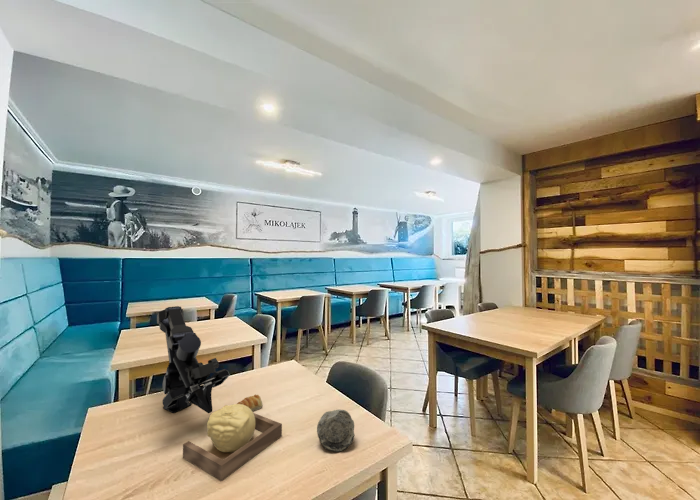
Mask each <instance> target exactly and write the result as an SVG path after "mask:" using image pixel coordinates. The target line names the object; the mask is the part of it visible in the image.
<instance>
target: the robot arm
mask: <svg viewBox="0 0 700 500" xmlns="http://www.w3.org/2000/svg"><path fill="white" fill-rule="evenodd" d="M184 318H185V317H184V308H182V306H178V305H177V306H175V305H174V306H167V307H165V308H164V309H163V310H161V311H158V312H157V314H156V323H157V324H158V325H159V330H160V331H161V332H163V333H165V340H166V348H167V354H168V356H167V357H168V362H169V363H168V366H167V367H166V370H165V375H164V377H163V380H162V391H163V393H164V395H165V396H164V397H163V399H162V405H163V407H162V408H163V409H164V410H166V411H168V412H170V413H173V414H174V413H176V412H179V411H181V410H184V409H185V408H188V407H190V406H192V405H194V406H197V407H198V408H199V409H201V410H202V411H203V412H206V413H207V414H212V413H213V402H212V400H213V399H212V390H213V388H216V387H218V386H221V385H222V384H223V383H224V382H225V381H226V380H227V379H228V378H229V376H230V375H231V373H230V372H229V370H228V369H226V368H223V369H220V370H218V371H216V369H218V368H219V367H220V364H219V360H218V359H217V357H214V358H210V359H209V360H207V363H205V364H203V362H199V361H198V359H197V355H198V353H199V350H200V348H201V344H202V341H201V338H200V337H199V336H198V335H197V333H196V332H194V329H193V328H192V327H191V326H188V325H187V324H186V322H185V319H184ZM211 374H212V375H211ZM209 377H210V378H209Z"/></svg>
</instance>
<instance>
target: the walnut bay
mask: <svg viewBox="0 0 700 500" xmlns="http://www.w3.org/2000/svg"><path fill="white" fill-rule="evenodd" d="M253 414H254V416H255V422H256V424H255V430H257V431H259V432H261V433H260V434H259V435H258V436H255V438H253V439H251V440H250V441H249V442H248V443H247V444H245V445H244V446H243V447H241V448H240V449H238V450H237V451H235V452H231V454H229V455H228V456H226V457H225V458H223V459H222V458H221V457H219V456H217V455H215V454H213V453H212V452H210V451H208V450H206V449H205V448H203V447H200V446H199V445H196V444H195V443H193V442H192V441H189V440H188V441H186V442H184V443H182V459H184V460H185V461H188V462H189V463H191V464H193V465H194V466H196V467H197V468H199V469H201V470H202V471H204V472H205V473H207V474H210V475H211V476H213V477H214V478H215V479H217V480H220V481H221V482H222V481H224V480H225V479H226V478H227V477H230V475H232V474H233V473H234V472H235V471H237V470H238V469H239V468H241V467H242V466H243V465H245V464H247V462H249V461H250V460H252V459H253V458H254V457H256V456H257V455H258V454H260V453H261V452H263V451H264V450H265V449H266V448H268V447H269V446H271V444H273V443H274V442H276V441H277V440H279V439H280V438H281V437H282V436H283V424H282V422H278V421H275V420H273V419H271V418H268V417H265V416H263V415H260V414H258V413H255V412H253Z"/></svg>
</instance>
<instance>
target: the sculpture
mask: <svg viewBox="0 0 700 500" xmlns="http://www.w3.org/2000/svg"><path fill="white" fill-rule="evenodd" d="M253 413H254V411H252V410H251V409H250V408H249V407H247V406H245V405H242V404H237V403H235V404H234V403H233V404H229V405H228V404H225V405H224V406H223V407H221V408H219V409H217V410H215V411H212V412H211V413H210V415H209V418H208V421H206V422H207V424H206V428H207V431H206V432H207V437H209V438H210V440H211V443H212V444H213V445H214V447H215V448H216V449H217V450H218V451H219V452H222V453H234V452H235V451H237V450H238V449H240V448H241V447H243V446H244V445H245V444H247V443H248V442H250V441H251V440H252V438H253V436H254V433H255V430H256V429H255V424H256V422H255V416H254V414H253Z"/></svg>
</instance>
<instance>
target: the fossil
mask: <svg viewBox="0 0 700 500" xmlns="http://www.w3.org/2000/svg"><path fill="white" fill-rule="evenodd" d="M316 425H317V426H316V434H317V437H318V441H319V442H320V443H321V445H322V447H323V448H324V449H326V450H327V451H330V452H335V453H338V452H342V451H345V450H346V449H348V448H349V447H350V445H351V444H352V443H353V441H354V439H355V422H354V420H353V418H352V416H351V414H350V412H348V411H347V410H346V409H334V410H329V411H325V412H324V413H323V414H322V415H321V417H320V419H319V420H318V423H317V424H316Z"/></svg>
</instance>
